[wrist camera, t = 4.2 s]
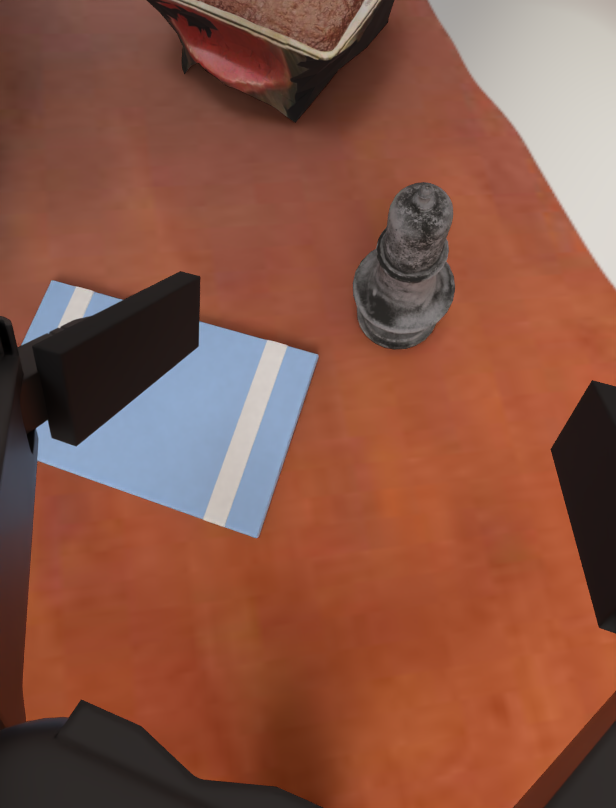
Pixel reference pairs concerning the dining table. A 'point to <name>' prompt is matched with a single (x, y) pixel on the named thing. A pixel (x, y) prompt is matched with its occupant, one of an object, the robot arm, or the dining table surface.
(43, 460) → the cloth
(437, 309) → the salt shaker
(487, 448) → the dining table surface
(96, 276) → the dining table surface
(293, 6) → the baking dish
